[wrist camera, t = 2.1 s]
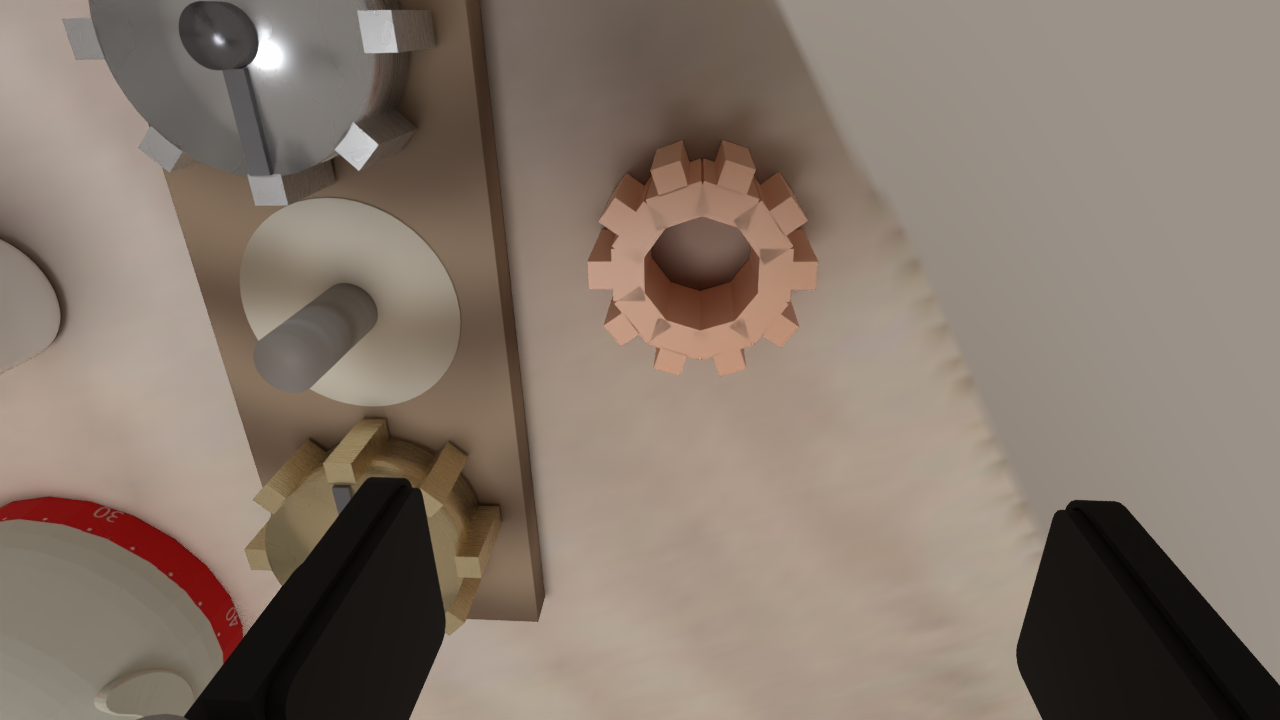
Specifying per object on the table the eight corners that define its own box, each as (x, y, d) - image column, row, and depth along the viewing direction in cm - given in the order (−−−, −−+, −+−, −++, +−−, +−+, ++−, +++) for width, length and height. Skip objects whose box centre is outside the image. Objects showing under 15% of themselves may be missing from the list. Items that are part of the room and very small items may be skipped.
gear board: (87, -191, 21) (-128, -263, 15) (456, -210, 20) (365, -294, 14) (317, 588, 34) (245, 697, 28) (544, 596, 33) (514, 710, 28)
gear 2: (261, 417, 28) (199, 473, 24) (487, 421, 27) (456, 480, 23) (313, 591, 31) (266, 661, 28) (511, 599, 31) (488, 671, 27)
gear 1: (94, -142, 20) (-33, -174, 16) (408, -156, 19) (344, -193, 16) (191, 184, 24) (105, 213, 20) (454, 182, 23) (411, 211, 20)
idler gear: (573, 178, 24) (554, 203, 21) (771, 109, 23) (783, 125, 20) (641, 353, 27) (633, 399, 24) (821, 302, 26) (839, 344, 22)
